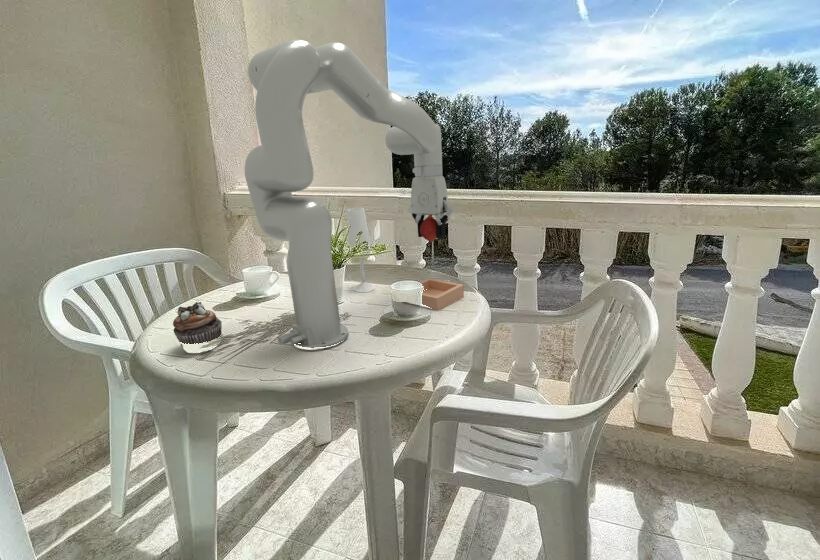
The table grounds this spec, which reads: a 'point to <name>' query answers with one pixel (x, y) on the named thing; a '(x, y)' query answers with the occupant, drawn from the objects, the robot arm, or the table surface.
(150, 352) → the table surface
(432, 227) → the onion
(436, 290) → the tray
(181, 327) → the cupcake
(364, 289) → the white table lamp
